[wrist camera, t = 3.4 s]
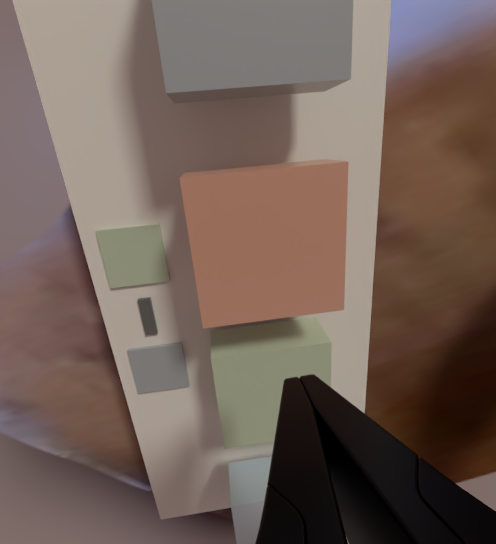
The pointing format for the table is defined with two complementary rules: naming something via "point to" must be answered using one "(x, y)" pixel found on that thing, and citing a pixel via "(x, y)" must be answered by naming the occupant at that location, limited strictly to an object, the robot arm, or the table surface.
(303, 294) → the key terracotta
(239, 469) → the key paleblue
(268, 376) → the key sage
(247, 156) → the keypad base
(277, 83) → the key slate
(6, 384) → the table surface
